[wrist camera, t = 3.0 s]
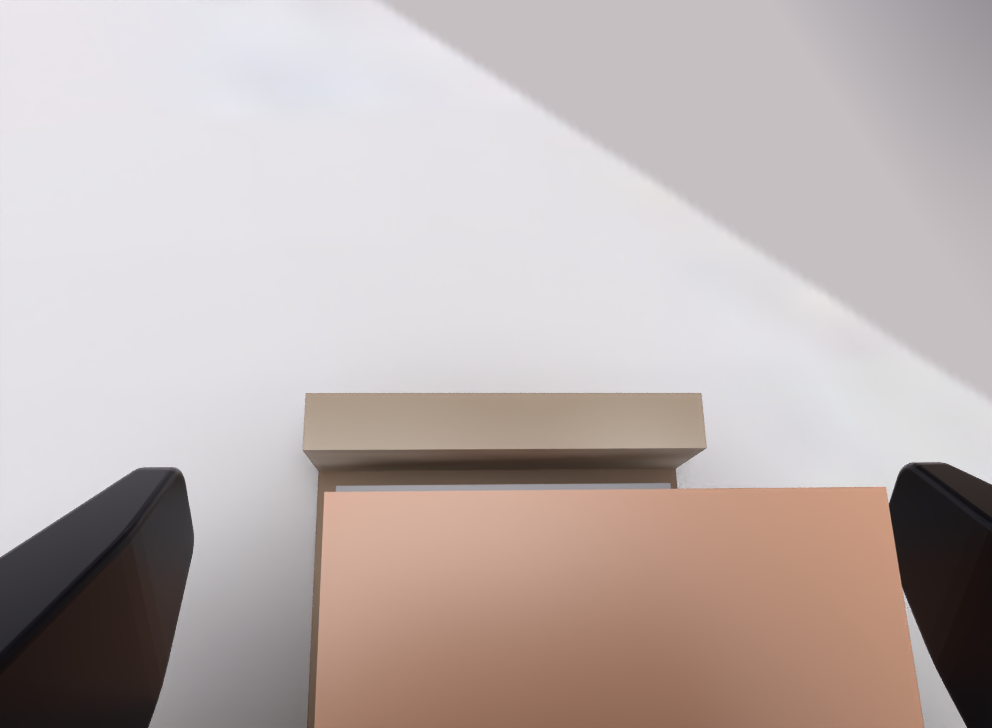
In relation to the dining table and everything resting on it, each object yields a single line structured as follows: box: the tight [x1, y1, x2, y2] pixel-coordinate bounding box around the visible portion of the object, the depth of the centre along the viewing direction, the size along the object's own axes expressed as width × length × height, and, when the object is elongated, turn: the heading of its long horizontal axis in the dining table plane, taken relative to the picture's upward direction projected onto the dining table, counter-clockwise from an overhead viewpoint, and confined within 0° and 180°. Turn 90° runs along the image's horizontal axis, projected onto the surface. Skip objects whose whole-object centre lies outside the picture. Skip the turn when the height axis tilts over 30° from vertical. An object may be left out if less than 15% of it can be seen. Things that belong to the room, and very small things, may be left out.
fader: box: [314, 483, 924, 728], centre depth 10 cm, size 5×6×10 cm
